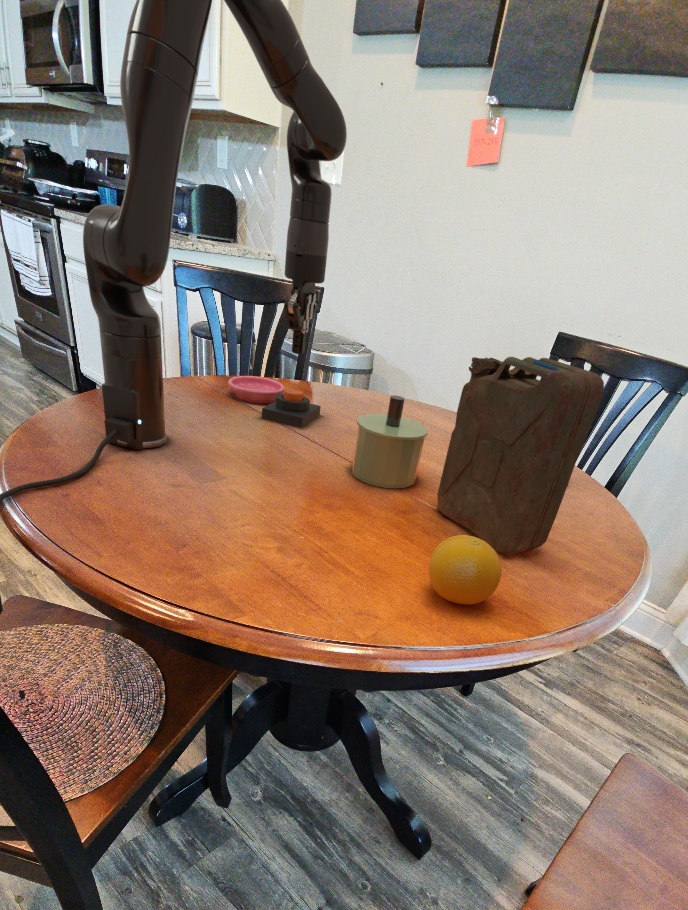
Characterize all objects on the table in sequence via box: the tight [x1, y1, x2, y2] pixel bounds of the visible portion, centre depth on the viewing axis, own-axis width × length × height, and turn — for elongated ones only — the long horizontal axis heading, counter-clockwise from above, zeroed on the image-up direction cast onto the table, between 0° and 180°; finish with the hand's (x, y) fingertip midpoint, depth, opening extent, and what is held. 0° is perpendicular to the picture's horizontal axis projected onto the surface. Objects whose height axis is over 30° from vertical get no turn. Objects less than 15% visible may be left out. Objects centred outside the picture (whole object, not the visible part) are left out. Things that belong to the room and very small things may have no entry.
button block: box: [261, 392, 322, 429], centre depth 124 cm, size 11×9×4 cm
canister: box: [436, 356, 605, 556], centre depth 85 cm, size 19×8×25 cm, turn 32°
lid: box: [356, 394, 429, 440], centre depth 99 cm, size 12×12×6 cm
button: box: [283, 388, 304, 402], centre depth 123 cm, size 4×4×2 cm
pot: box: [351, 425, 426, 489], centre depth 103 cm, size 11×11×8 cm
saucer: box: [228, 375, 285, 405], centre depth 133 cm, size 12×12×3 cm
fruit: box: [428, 534, 502, 606], centre depth 72 cm, size 9×8×8 cm
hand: (298, 353), depth 117 cm, fingers closed
